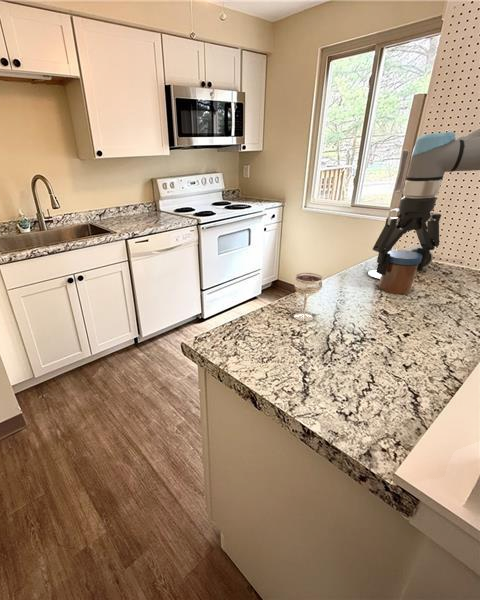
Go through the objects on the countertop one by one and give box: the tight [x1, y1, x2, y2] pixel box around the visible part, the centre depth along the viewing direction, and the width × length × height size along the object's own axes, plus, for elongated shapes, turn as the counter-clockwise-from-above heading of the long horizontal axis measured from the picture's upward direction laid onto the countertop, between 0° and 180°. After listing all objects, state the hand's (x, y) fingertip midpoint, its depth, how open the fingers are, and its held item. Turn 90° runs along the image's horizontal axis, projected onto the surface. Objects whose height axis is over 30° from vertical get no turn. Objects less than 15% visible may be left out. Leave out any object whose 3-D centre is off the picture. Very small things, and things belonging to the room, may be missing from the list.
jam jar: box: [377, 262, 418, 295], centre depth 94 cm, size 8×8×10 cm
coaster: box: [367, 269, 381, 281], centre depth 106 cm, size 10×10×1 cm
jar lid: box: [388, 249, 422, 265], centre depth 92 cm, size 9×9×2 cm
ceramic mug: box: [406, 244, 434, 270], centre depth 110 cm, size 11×8×8 cm
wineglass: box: [293, 272, 324, 322], centre depth 84 cm, size 7×7×12 cm
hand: (398, 271), depth 94 cm, fingers open, 10 cm apart
